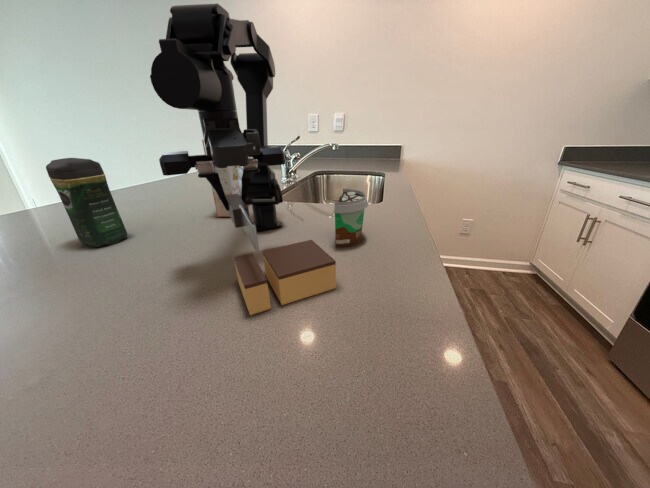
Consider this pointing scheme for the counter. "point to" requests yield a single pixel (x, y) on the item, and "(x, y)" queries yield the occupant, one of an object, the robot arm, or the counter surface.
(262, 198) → the robot arm
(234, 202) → the knife
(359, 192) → the food container
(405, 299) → the counter surface
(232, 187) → the cracker box
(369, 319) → the counter surface
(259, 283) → the cake slice
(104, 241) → the coffee jar
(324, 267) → the cake
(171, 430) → the counter surface
